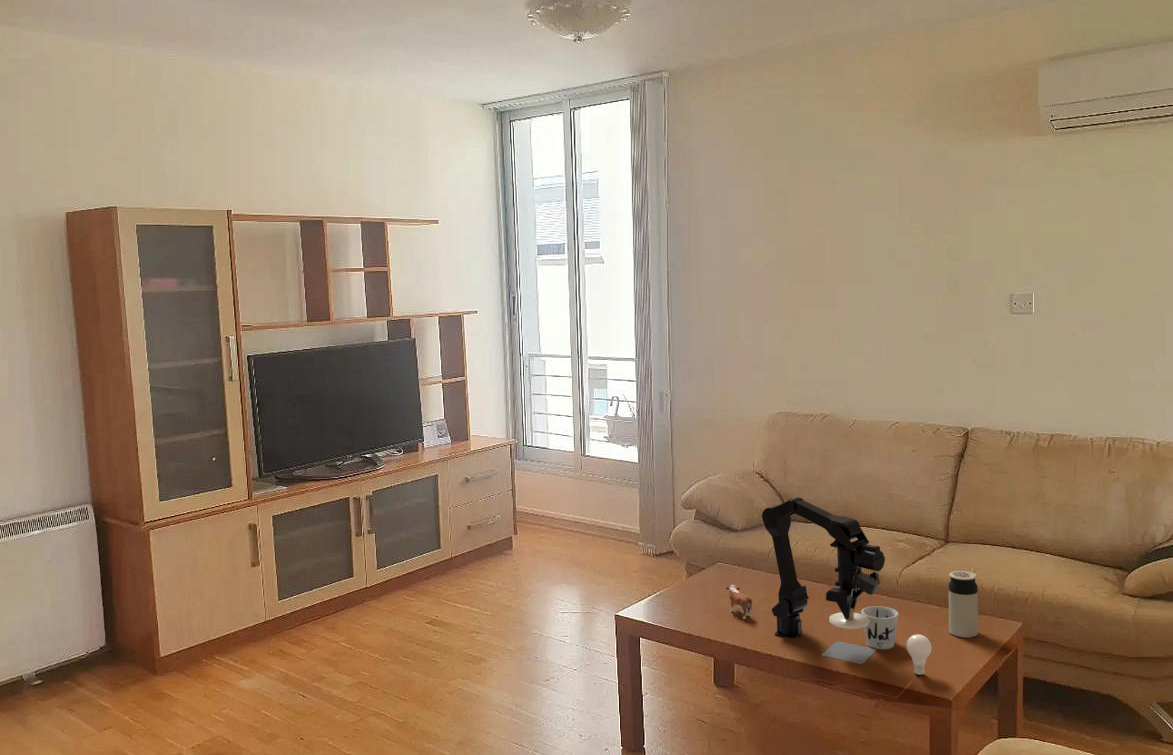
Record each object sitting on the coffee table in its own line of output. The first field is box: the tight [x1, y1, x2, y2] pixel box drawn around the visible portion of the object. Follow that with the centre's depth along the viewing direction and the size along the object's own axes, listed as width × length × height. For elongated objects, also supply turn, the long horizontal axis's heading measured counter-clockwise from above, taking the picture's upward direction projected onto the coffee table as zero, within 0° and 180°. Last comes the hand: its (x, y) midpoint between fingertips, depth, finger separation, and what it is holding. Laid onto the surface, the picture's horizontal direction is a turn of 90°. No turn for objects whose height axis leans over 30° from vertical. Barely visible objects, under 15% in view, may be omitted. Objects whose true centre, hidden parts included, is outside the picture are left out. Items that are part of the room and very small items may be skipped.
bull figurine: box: [725, 584, 753, 620], centre depth 298 cm, size 4×13×8 cm, turn 19°
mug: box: [860, 605, 900, 650], centre depth 270 cm, size 10×15×10 cm
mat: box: [820, 640, 878, 665], centre depth 263 cm, size 12×12×1 cm
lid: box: [828, 608, 869, 630], centre depth 262 cm, size 11×11×4 cm
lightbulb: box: [905, 634, 932, 676], centre depth 247 cm, size 6×6×11 cm
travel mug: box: [948, 570, 979, 639], centre depth 273 cm, size 8×8×18 cm
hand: (849, 617), depth 262 cm, fingers closed on lid, 3 cm apart
